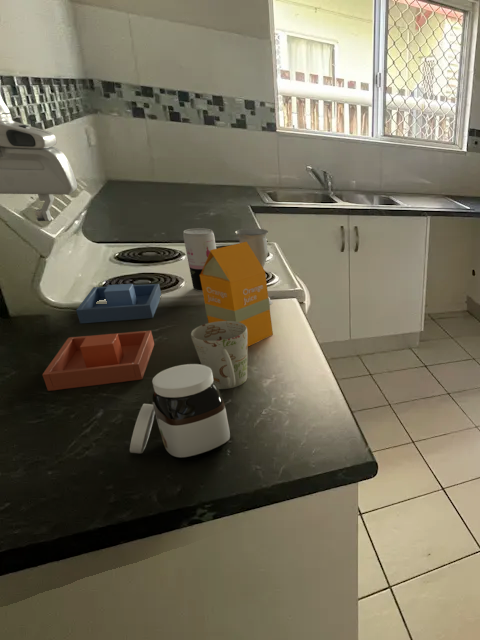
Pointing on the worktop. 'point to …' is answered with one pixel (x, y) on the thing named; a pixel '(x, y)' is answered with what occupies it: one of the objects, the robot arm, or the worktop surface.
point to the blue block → (120, 295)
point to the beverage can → (198, 251)
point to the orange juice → (237, 290)
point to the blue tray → (102, 313)
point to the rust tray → (73, 371)
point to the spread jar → (184, 413)
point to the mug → (223, 351)
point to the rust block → (101, 350)
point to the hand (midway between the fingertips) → (8, 220)
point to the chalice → (255, 243)
